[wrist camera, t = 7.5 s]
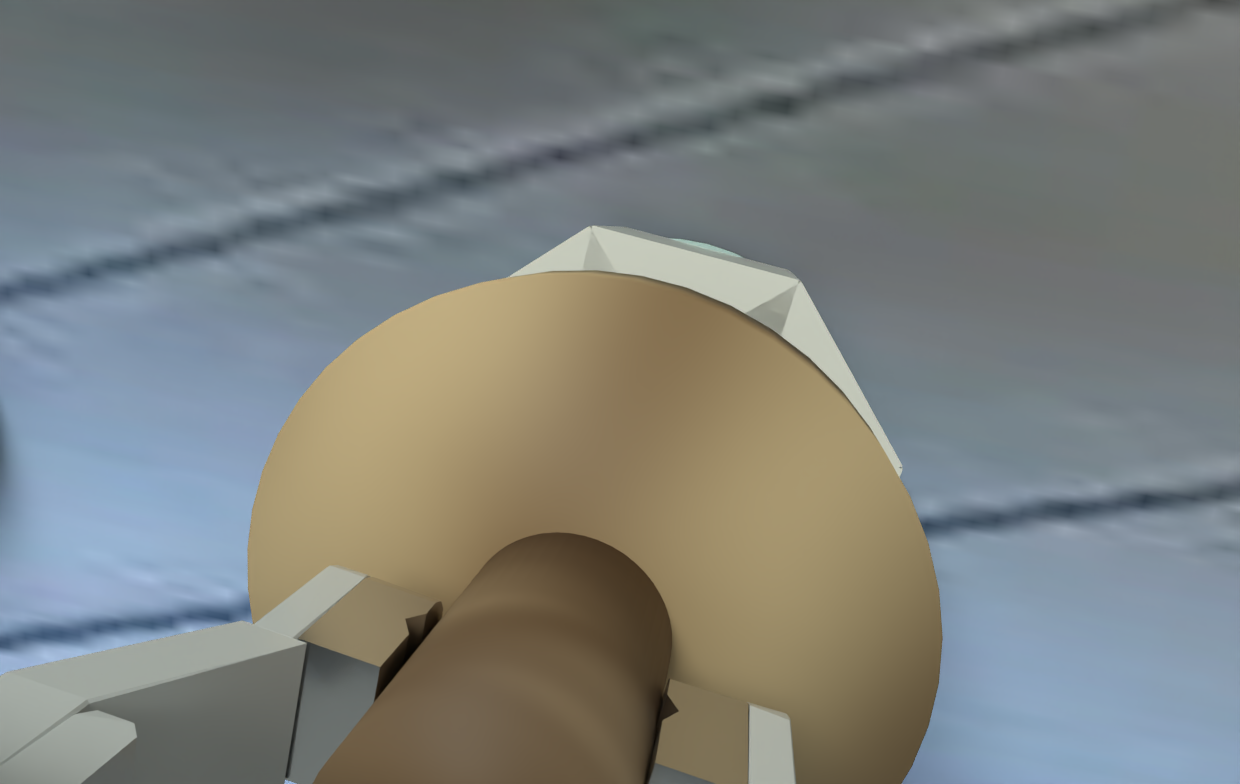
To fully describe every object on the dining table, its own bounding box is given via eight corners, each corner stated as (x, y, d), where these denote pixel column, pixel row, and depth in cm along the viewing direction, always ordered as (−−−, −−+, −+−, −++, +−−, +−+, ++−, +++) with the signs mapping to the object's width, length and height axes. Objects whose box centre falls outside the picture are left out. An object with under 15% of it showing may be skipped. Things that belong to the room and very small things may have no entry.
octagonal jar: (785, 651, 22) (796, 768, 17) (446, 542, 23) (366, 623, 18) (910, 296, 19) (964, 318, 14) (518, 194, 20) (447, 182, 16)
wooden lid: (1010, 346, 10) (1289, 470, 5) (828, 935, 12) (882, 1433, 7) (316, 212, 11) (-51, 197, 6) (278, 768, 13) (-7, 1090, 8)
